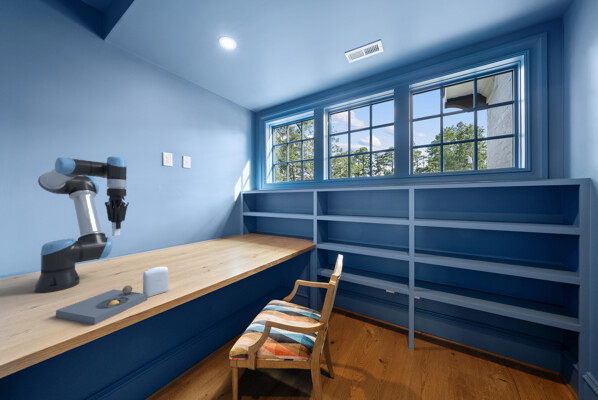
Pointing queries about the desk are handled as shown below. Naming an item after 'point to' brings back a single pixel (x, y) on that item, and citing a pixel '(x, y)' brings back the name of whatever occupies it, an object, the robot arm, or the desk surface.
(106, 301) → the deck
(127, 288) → the cork ball
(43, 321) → the desk surface
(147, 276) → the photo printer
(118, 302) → the ball
